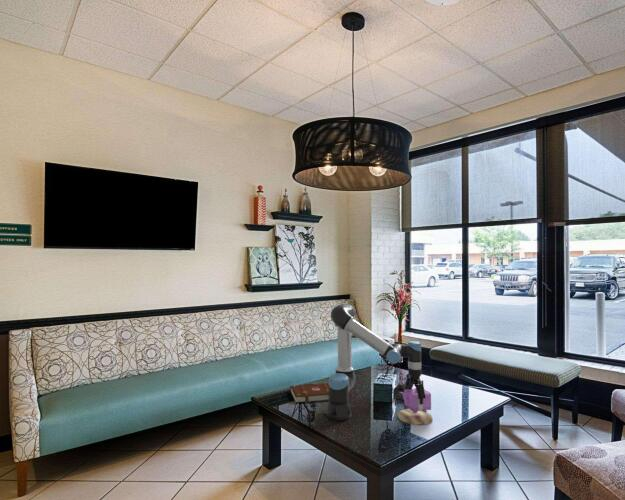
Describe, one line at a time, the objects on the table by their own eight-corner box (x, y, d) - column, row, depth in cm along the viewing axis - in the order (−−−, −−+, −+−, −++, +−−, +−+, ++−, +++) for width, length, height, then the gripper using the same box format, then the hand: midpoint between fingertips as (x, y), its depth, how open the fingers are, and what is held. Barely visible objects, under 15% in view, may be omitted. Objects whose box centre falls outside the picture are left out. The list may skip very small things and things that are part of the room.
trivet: (409, 427, 213) (409, 425, 213) (391, 413, 232) (391, 411, 232) (439, 422, 219) (439, 420, 219) (419, 409, 238) (419, 407, 238)
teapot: (426, 405, 232) (426, 384, 232) (435, 412, 222) (434, 390, 222) (395, 407, 228) (395, 386, 228) (402, 414, 218) (402, 392, 219)
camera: (412, 396, 260) (412, 381, 260) (414, 402, 250) (414, 386, 250) (392, 395, 261) (392, 380, 262) (393, 400, 252) (393, 385, 252)
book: (342, 399, 254) (342, 392, 254) (295, 403, 247) (295, 395, 247) (333, 388, 276) (333, 381, 276) (290, 391, 270) (290, 384, 270)
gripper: (431, 373, 216) (432, 412, 215) (409, 362, 238) (409, 398, 237) (420, 374, 214) (420, 414, 213) (399, 363, 236) (399, 399, 235)
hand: (415, 405), depth 225 cm, fingers closed on teapot, 10 cm apart
